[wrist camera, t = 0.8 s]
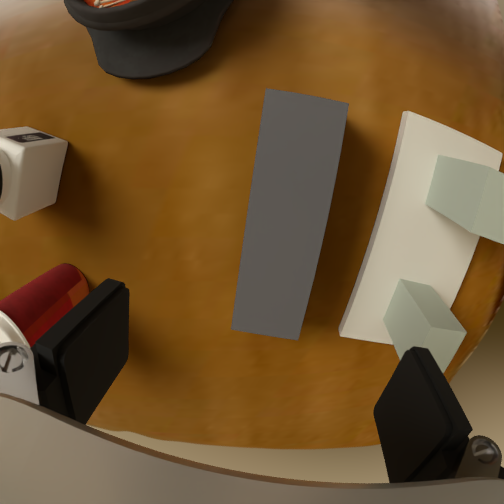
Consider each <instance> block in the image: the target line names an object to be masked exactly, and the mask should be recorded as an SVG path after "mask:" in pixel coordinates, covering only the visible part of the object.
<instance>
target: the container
mask: <svg viewBox="0 0 504 504" xmlns="http://www.w3.org/2000/svg"><path fill="white" fill-rule="evenodd" d="M67 147H68V142H67V141H65V140H63V139H60V138H57V137H54V136H52V135H49V134H46V133H44V132H41V131H38V130H35V129H32V128H30V127H19V128H10V129H2V130H0V213H2V214H3V215H5V216H7V217H8V218H10V219H12V220H17V219H20V218H22V217H24V216H26V215H29V214H31V213H33V212H35V211H38V210H40V209H42V208H45V207H47V206H49V205H52V204H54V203H55V202H56V198H57V193H58V187H59V182H60V177H61V172H62V168H63V163H64V159H65V155H66V151H67Z"/></svg>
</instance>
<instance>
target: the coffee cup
mask: <svg viewBox="0 0 504 504" xmlns="http://www.w3.org/2000/svg"><path fill="white" fill-rule="evenodd" d="M88 294H89V286H88V283H87V280H86V278H85V277H84V275H83V274H82V273H81V271H80V270H79V269H77V268H76V267H75V266H73V265H71V264H61V265H58V266H56V267H55V268H53V269H51V270H49V271H47V272H46V273H44V274H42V275H41V276H39V277H37V278H36V279H34V280H32V281H31V282H29V283H28V284H26V285H24V286H23V287H21V288H20V289H18V290H16V291H15V292H13V293H12V294H10V295H9V296H7V297H6V298H4V299H3V300H1V301H0V344H2V343H5V342H19V343H22V344H24V345H26V346H28V347H29V348H31V347H32V346H33V345H34V344H35V342H36V341H37V340H38V339H39V338H40V337H41V336H42V335H43V334H44V333H45V332H46V331H48V330H49V329H50V328H51V327H52V326H53V325H54V324H55V323H56V322H57V321H59V320H60V319H61V318H62V317H63V316H64V315H65V314H66V313H68V312H69V311H70V310H71V309H72V308H73V307H74V306H76V305H77V304H78V303H79V302H80V301H81V300H82V299H84V298H85V297H86V296H87V295H88Z"/></svg>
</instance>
